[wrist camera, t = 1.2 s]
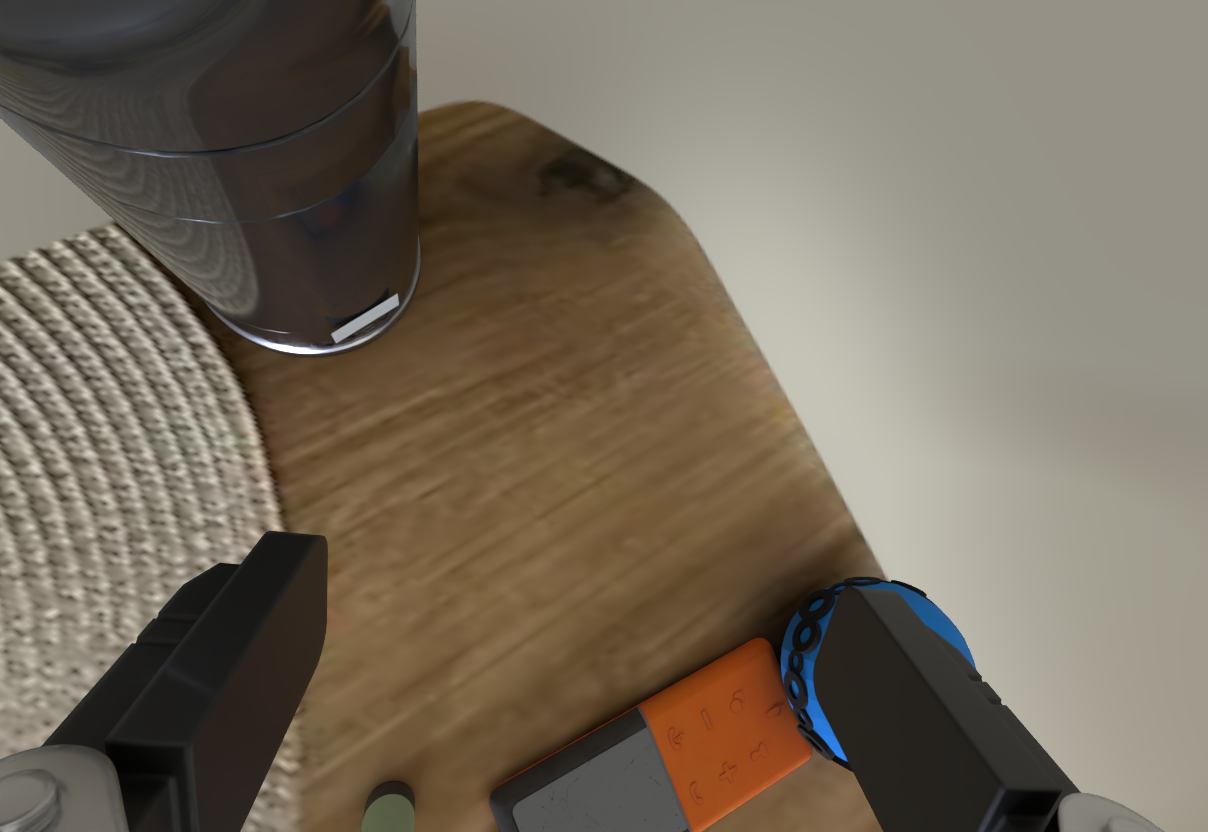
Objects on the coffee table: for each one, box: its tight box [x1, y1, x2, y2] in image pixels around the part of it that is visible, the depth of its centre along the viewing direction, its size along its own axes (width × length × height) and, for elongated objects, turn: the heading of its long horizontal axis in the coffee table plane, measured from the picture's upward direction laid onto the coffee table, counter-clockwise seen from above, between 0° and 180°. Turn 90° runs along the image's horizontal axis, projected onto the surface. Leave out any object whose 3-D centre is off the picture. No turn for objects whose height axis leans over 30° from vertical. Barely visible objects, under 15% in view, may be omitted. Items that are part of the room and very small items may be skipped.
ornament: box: [781, 577, 976, 772], centre depth 28 cm, size 9×9×10 cm
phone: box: [489, 638, 813, 832], centre depth 29 cm, size 6×1×15 cm
